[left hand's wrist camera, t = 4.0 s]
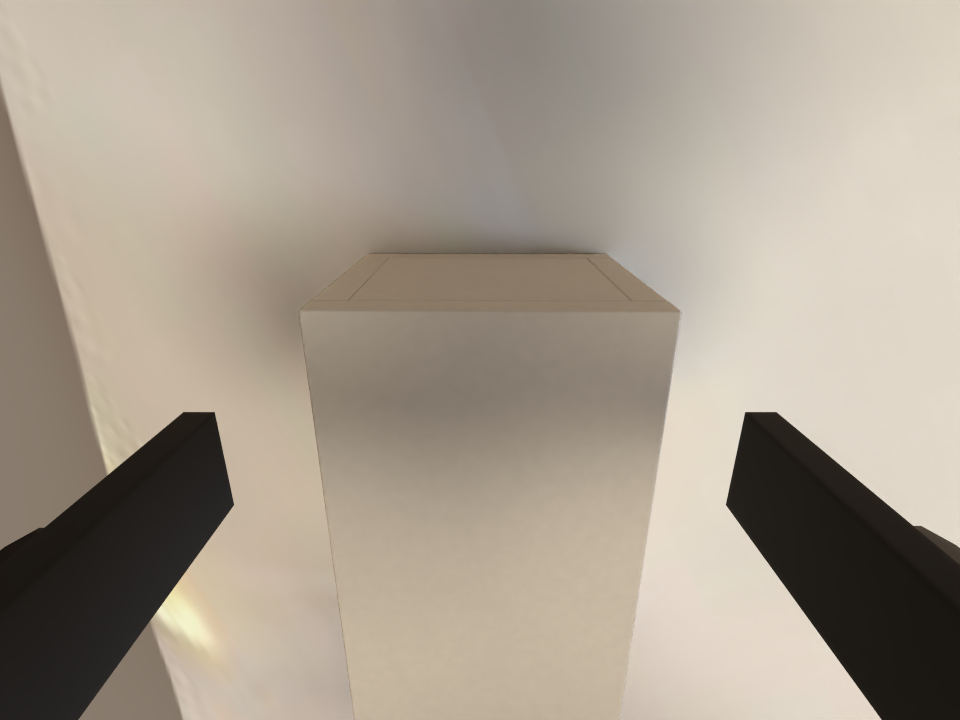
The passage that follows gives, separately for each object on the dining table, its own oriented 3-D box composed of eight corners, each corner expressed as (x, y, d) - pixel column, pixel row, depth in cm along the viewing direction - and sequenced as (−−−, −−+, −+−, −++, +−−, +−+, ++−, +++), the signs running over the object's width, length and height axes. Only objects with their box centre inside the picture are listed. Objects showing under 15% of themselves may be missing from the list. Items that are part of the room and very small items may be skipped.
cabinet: (577, 577, 29) (615, 748, 20) (394, 576, 29) (357, 747, 20) (607, 253, 22) (682, 311, 14) (368, 253, 22) (297, 310, 14)
